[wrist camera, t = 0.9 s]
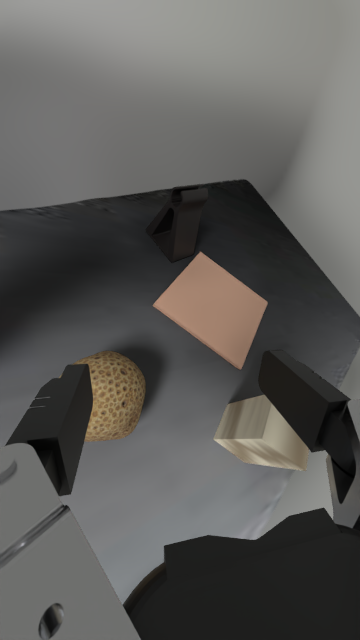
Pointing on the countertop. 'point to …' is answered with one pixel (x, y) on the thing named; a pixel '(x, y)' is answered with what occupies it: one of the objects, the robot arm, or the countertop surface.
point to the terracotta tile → (214, 308)
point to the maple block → (261, 435)
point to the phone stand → (179, 222)
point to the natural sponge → (114, 395)
